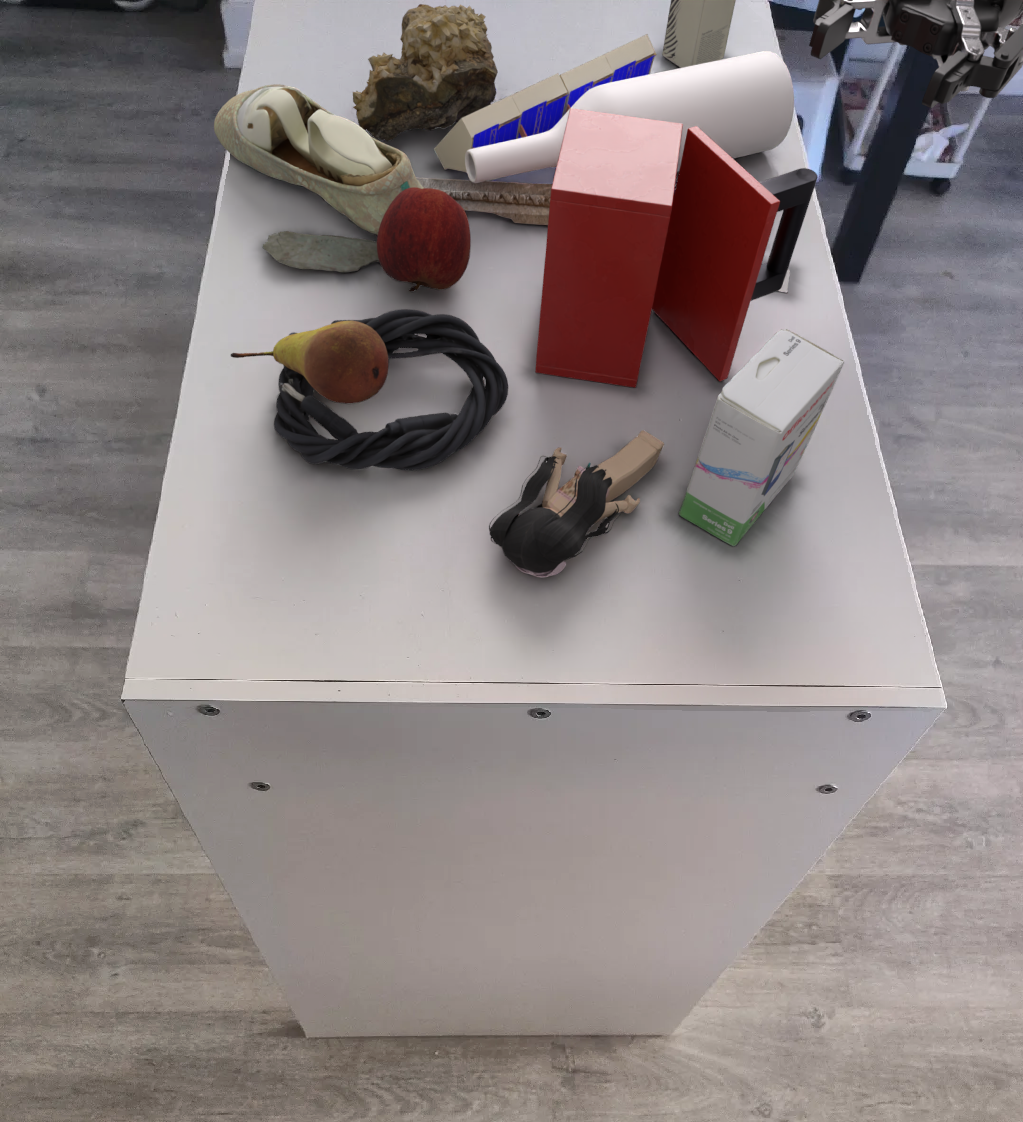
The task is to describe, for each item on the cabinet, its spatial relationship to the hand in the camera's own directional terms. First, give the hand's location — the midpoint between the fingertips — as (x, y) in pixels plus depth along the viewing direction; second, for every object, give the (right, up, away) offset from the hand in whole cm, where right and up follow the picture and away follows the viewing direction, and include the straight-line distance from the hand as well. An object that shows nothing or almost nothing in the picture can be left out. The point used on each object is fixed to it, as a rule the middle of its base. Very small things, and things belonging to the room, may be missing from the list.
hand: (873, 66), depth 68 cm
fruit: (-33, -20, +1) cm, 39 cm away
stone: (-39, -3, +19) cm, 44 cm away
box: (-6, +23, +37) cm, 44 cm away
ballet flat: (-40, +4, +23) cm, 47 cm away
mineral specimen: (-32, +13, +30) cm, 46 cm away
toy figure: (-19, -29, +5) cm, 35 cm away
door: (-8, -12, +16) cm, 21 cm away
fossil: (-25, +2, +23) cm, 34 cm away
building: (-21, +14, +26) cm, 36 cm away
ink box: (-8, -28, +7) cm, 29 cm away
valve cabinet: (-18, -13, +15) cm, 26 cm away
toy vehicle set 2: (-4, -6, +20) cm, 21 cm away
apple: (-31, -8, +17) cm, 36 cm away
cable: (-33, -21, +9) cm, 40 cm away
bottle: (0, +13, +26) cm, 29 cm away
